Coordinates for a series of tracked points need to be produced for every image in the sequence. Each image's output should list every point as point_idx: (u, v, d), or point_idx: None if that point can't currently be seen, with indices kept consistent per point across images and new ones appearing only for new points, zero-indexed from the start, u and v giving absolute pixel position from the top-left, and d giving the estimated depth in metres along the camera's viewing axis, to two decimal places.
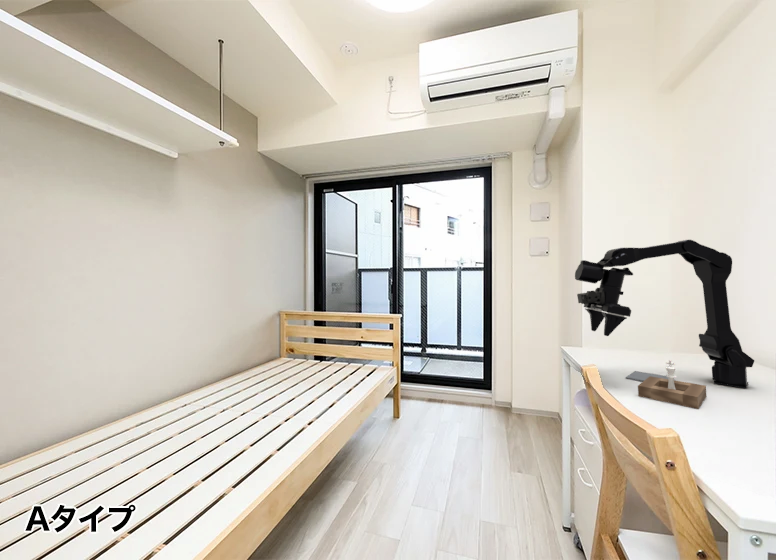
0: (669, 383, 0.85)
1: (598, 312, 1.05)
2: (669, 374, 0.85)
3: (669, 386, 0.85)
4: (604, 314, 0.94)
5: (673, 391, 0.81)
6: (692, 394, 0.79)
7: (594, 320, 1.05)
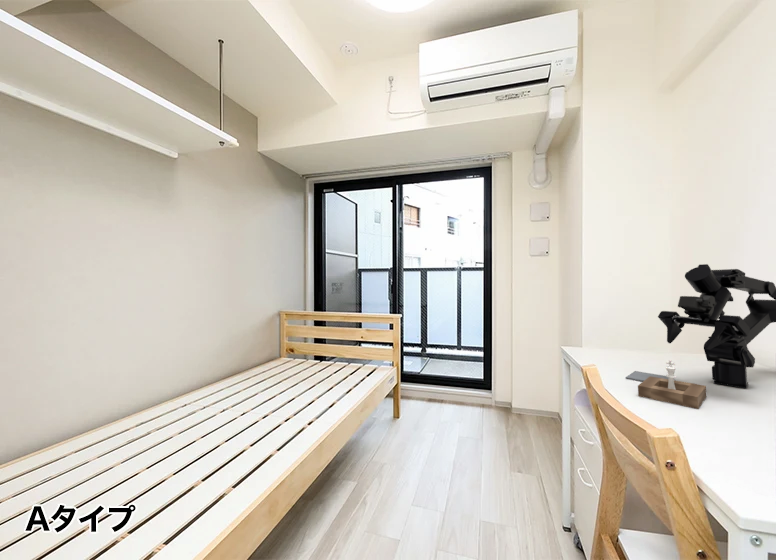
0: (669, 383, 0.85)
1: (677, 326, 0.94)
2: (669, 374, 0.85)
3: (669, 386, 0.85)
4: (721, 324, 0.82)
5: (673, 391, 0.81)
6: (692, 394, 0.79)
7: (672, 332, 0.93)
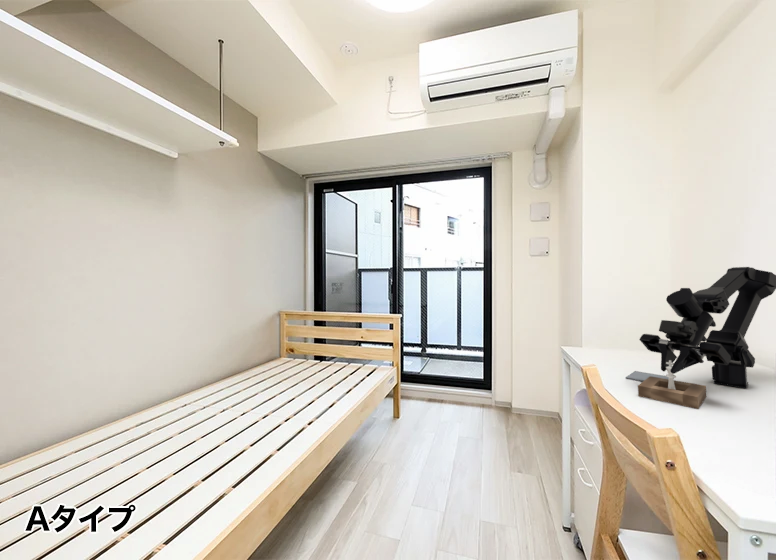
0: (669, 383, 0.85)
1: (672, 352, 0.88)
2: (669, 374, 0.85)
3: (669, 386, 0.85)
4: (686, 349, 0.83)
5: (673, 391, 0.81)
6: (692, 394, 0.79)
7: (666, 359, 0.87)
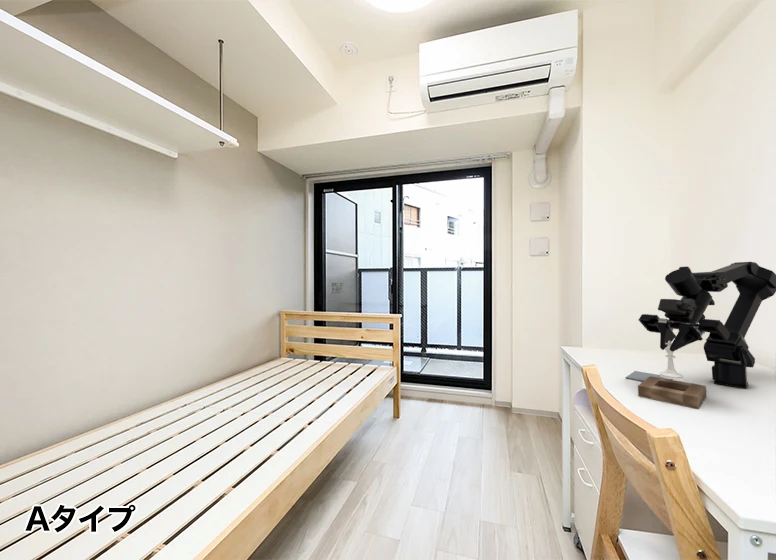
0: (668, 363, 0.85)
1: (671, 331, 0.88)
2: (668, 354, 0.85)
3: (668, 366, 0.85)
4: (685, 327, 0.83)
5: (673, 391, 0.81)
6: (692, 394, 0.79)
7: (665, 338, 0.87)
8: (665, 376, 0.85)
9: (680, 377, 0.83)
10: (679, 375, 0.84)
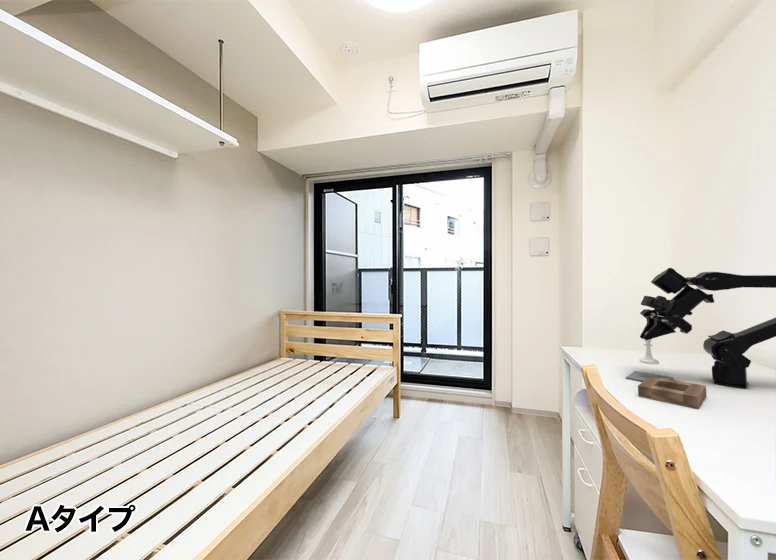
0: (646, 351, 1.01)
1: None
2: (646, 343, 1.00)
3: (646, 353, 1.01)
4: (656, 320, 0.97)
5: (673, 391, 0.81)
6: (692, 394, 0.79)
7: (648, 329, 1.01)
8: (640, 360, 1.01)
9: (651, 362, 0.98)
10: (651, 360, 0.99)
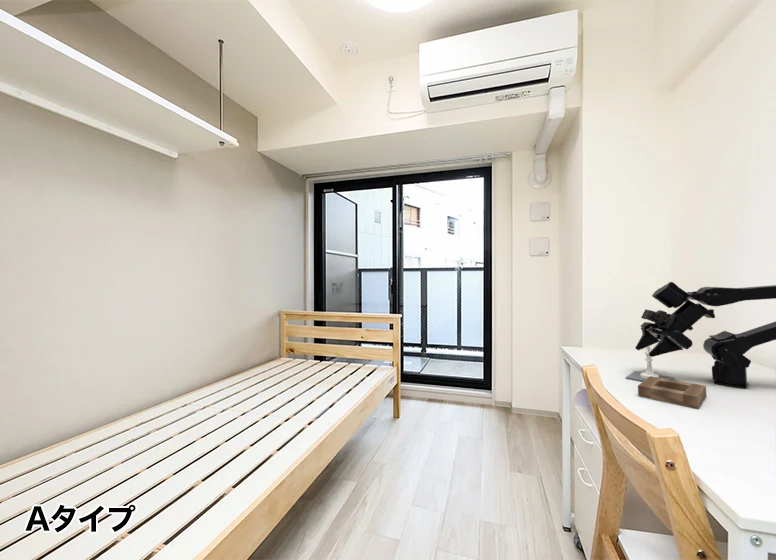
0: (647, 365, 1.01)
1: (652, 336, 1.04)
2: (647, 358, 1.00)
3: None
4: (662, 336, 0.94)
5: (673, 391, 0.81)
6: (692, 394, 0.79)
7: (643, 341, 1.05)
8: (641, 375, 1.01)
9: None
10: (652, 375, 0.99)
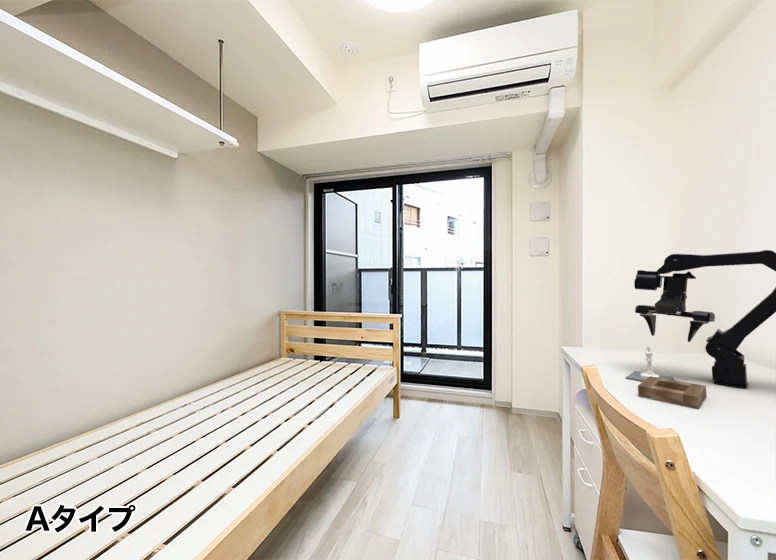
0: (647, 365, 1.01)
1: (653, 316, 1.07)
2: (647, 358, 1.00)
3: None
4: (696, 323, 0.95)
5: (673, 391, 0.81)
6: (692, 394, 0.79)
7: (652, 325, 1.06)
8: (641, 375, 1.01)
9: None
10: (652, 375, 0.99)
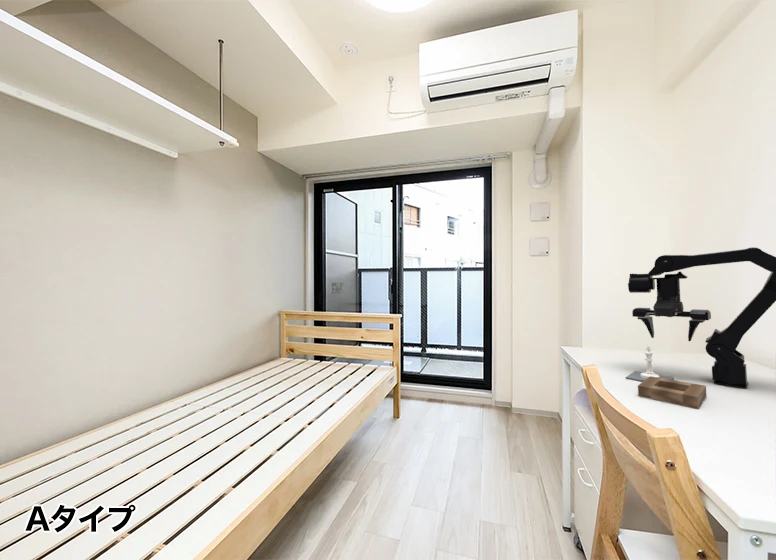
0: (647, 365, 1.01)
1: (650, 318, 1.07)
2: (647, 358, 1.00)
3: None
4: (695, 322, 0.96)
5: (673, 391, 0.81)
6: (692, 394, 0.79)
7: (651, 327, 1.06)
8: (641, 375, 1.01)
9: None
10: (652, 375, 0.99)
